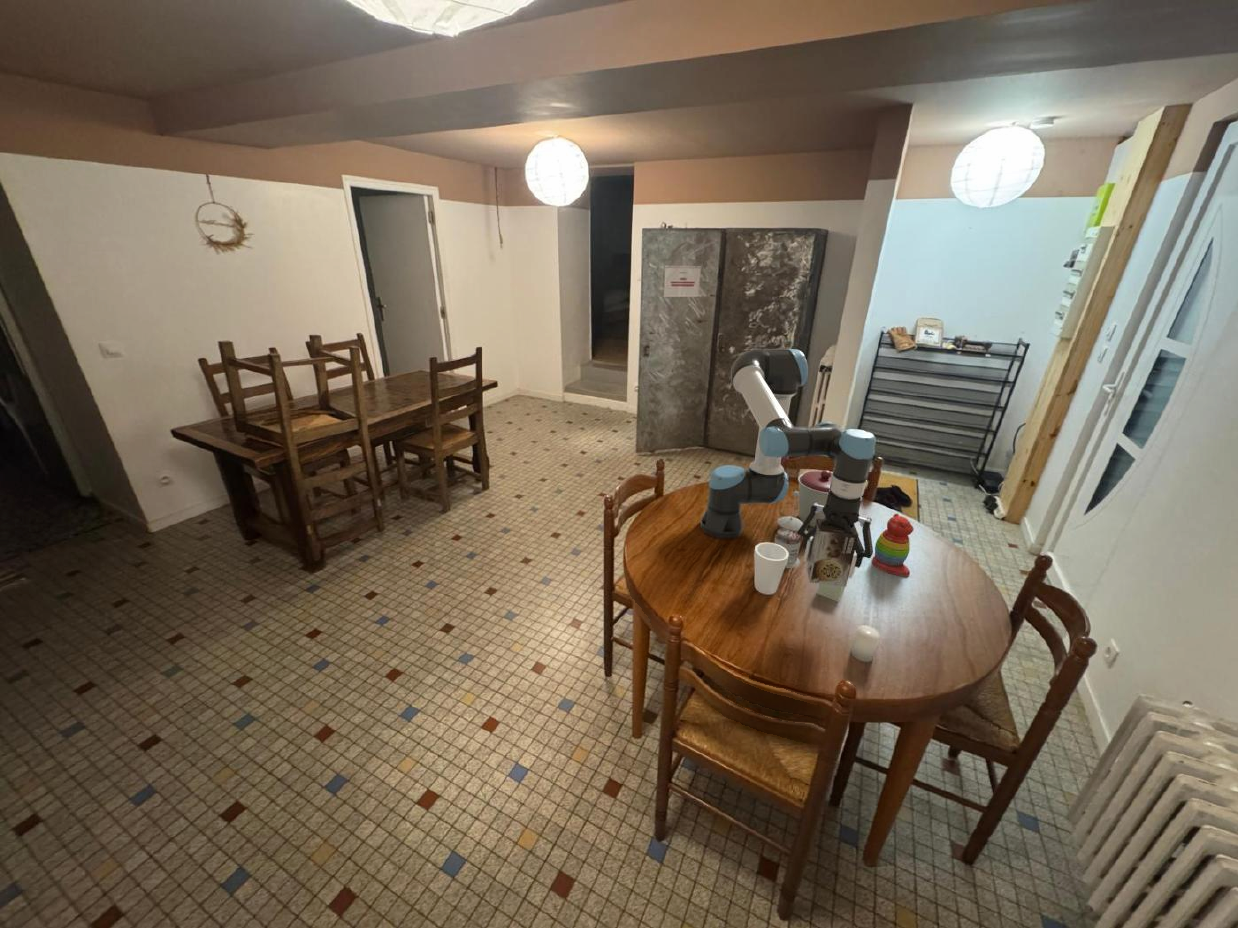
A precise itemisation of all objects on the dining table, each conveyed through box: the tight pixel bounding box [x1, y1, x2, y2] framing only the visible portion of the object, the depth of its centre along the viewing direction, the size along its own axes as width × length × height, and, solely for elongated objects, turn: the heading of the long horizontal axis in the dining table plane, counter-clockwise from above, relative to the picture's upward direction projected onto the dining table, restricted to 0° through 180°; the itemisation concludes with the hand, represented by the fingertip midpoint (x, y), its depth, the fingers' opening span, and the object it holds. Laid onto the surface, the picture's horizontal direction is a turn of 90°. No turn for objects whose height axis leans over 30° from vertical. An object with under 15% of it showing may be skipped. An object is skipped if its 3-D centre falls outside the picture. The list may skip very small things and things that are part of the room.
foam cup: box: [753, 541, 789, 595], centre depth 137 cm, size 10×9×13 cm
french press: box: [773, 490, 804, 569], centre depth 149 cm, size 10×12×25 cm
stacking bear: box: [871, 513, 915, 577], centre depth 148 cm, size 11×10×18 cm
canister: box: [797, 469, 833, 528], centre depth 172 cm, size 18×18×21 cm
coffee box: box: [806, 519, 859, 588], centre depth 121 cm, size 9×6×16 cm
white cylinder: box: [850, 624, 881, 663], centre depth 115 cm, size 5×5×7 cm
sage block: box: [816, 584, 846, 603], centre depth 137 cm, size 6×6×6 cm
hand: (828, 567), depth 123 cm, fingers closed on coffee box, 10 cm apart
